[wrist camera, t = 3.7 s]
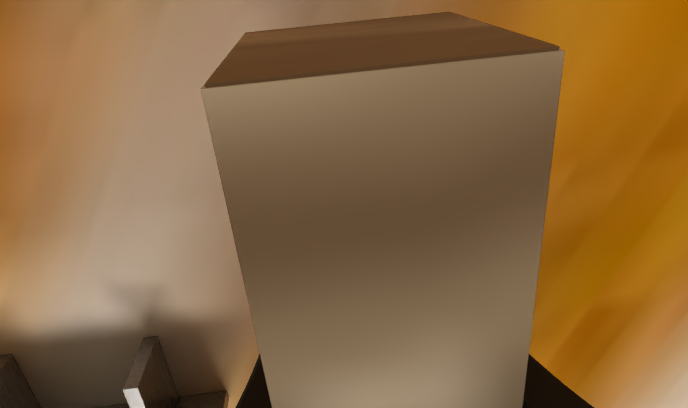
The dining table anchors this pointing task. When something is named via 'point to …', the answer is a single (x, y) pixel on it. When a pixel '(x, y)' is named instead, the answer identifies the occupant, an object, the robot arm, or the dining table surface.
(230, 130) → the rail
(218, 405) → the bracket
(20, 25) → the dining table surface
